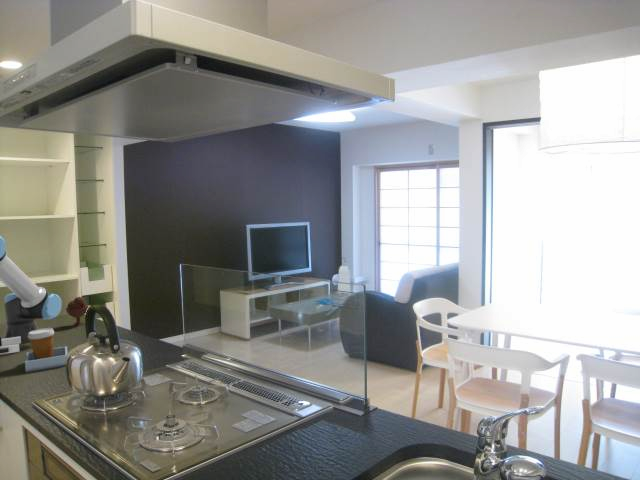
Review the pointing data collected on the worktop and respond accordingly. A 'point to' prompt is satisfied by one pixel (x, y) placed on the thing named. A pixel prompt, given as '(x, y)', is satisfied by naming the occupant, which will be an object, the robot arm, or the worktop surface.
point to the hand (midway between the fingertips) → (20, 343)
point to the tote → (46, 360)
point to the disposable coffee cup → (42, 343)
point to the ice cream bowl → (77, 309)
